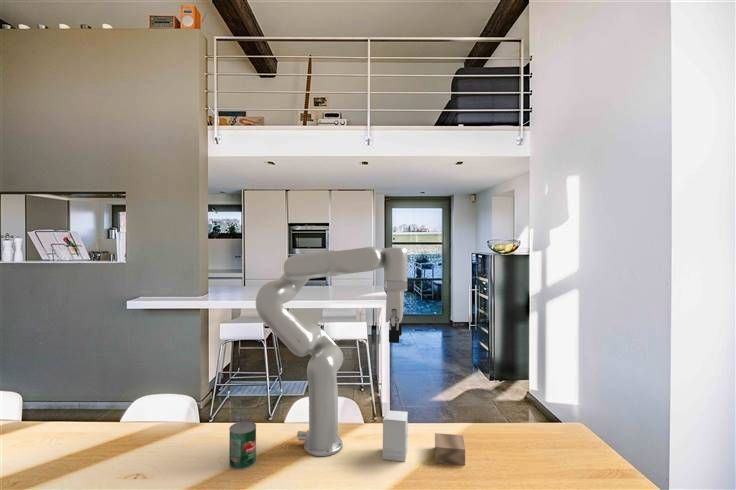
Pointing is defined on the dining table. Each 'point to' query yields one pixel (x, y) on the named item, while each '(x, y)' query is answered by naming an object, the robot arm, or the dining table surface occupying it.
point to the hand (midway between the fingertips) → (395, 338)
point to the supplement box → (395, 435)
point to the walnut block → (449, 449)
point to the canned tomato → (242, 445)
